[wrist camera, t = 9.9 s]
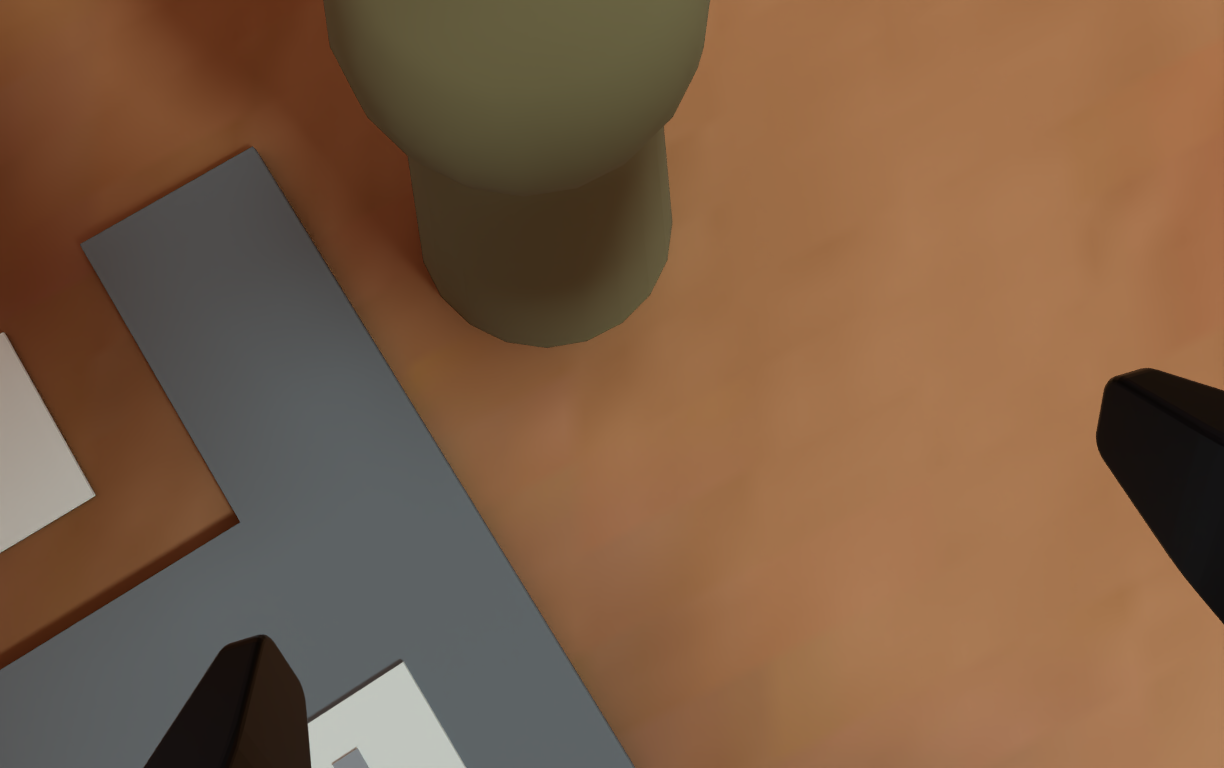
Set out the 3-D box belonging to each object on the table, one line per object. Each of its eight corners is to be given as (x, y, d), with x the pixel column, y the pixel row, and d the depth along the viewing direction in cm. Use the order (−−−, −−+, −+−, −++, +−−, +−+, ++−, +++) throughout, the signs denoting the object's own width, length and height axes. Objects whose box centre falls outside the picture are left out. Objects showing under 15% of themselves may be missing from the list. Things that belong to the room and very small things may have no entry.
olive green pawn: (366, 251, 21) (141, -33, 10) (517, 57, 22) (455, -391, 11) (575, 398, 21) (569, 263, 10) (721, 195, 22) (859, -131, 11)
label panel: (720, 906, 19) (723, 914, 19) (131, 1325, 18) (119, 1345, 17) (257, 151, 22) (250, 143, 21) (-301, 467, 20) (-320, 466, 20)
